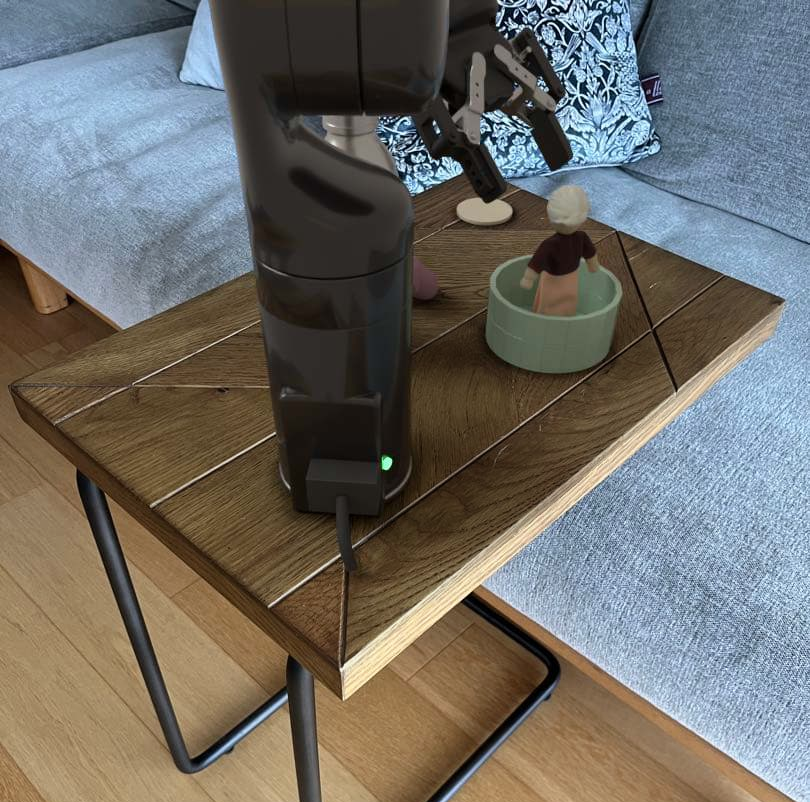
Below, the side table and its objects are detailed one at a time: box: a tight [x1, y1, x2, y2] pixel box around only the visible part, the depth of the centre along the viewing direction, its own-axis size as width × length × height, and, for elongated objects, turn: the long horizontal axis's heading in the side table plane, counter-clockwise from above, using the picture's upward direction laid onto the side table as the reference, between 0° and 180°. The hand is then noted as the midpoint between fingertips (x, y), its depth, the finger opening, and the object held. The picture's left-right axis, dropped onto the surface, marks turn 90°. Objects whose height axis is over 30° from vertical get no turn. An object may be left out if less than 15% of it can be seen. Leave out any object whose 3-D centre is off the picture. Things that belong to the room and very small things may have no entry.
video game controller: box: [413, 256, 439, 301], centre depth 73 cm, size 10×5×7 cm, turn 62°
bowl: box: [485, 254, 624, 374], centre depth 69 cm, size 11×11×5 cm
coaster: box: [456, 197, 514, 226], centre depth 87 cm, size 6×6×1 cm
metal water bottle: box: [321, 113, 400, 178], centre depth 62 cm, size 6×7×20 cm
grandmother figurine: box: [520, 184, 601, 317], centre depth 66 cm, size 8×4×13 cm, turn 131°
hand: (531, 180), depth 63 cm, fingers open, 8 cm apart
